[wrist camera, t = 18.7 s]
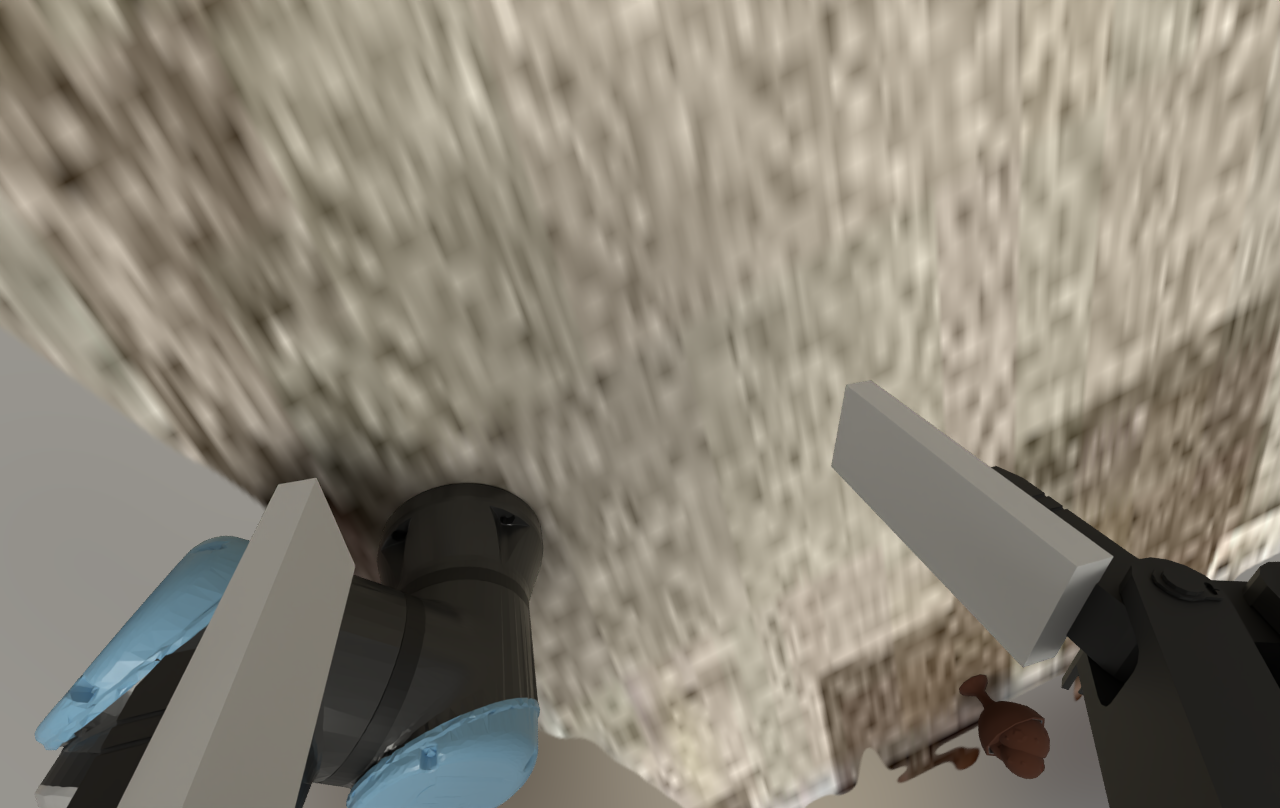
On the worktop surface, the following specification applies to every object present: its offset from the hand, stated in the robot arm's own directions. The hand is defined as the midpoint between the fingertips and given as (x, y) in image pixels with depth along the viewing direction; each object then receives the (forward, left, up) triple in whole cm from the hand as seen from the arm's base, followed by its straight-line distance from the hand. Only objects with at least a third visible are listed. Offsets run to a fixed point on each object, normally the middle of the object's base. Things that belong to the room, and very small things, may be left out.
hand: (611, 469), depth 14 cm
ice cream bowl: (-85, -70, -31) cm, 114 cm away
